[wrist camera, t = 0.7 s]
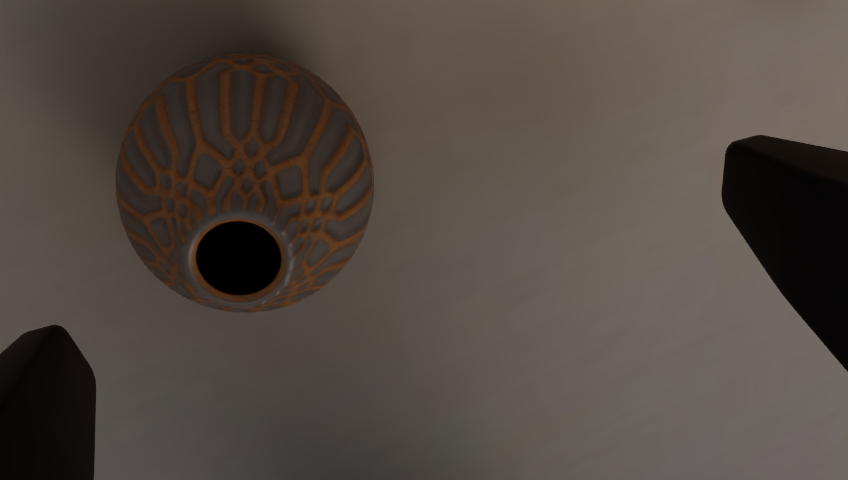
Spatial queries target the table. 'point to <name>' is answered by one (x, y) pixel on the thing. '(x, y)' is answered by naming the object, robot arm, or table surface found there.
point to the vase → (244, 182)
